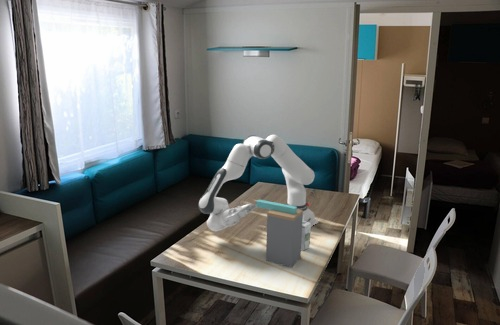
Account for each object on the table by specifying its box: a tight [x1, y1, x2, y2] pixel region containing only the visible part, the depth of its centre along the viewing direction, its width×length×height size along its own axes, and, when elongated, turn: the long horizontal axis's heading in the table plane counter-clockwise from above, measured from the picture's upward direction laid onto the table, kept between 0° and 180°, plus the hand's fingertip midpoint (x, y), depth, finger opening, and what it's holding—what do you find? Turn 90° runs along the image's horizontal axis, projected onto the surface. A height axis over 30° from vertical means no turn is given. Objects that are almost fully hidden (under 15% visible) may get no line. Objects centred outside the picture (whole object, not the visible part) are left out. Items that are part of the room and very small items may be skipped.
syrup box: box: [301, 221, 312, 252], centre depth 230 cm, size 6×6×14 cm
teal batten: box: [256, 199, 297, 214], centre depth 214 cm, size 21×3×3 cm, turn 62°
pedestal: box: [265, 209, 303, 268], centre depth 215 cm, size 14×12×26 cm
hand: (251, 208), depth 222 cm, fingers open, 8 cm apart
